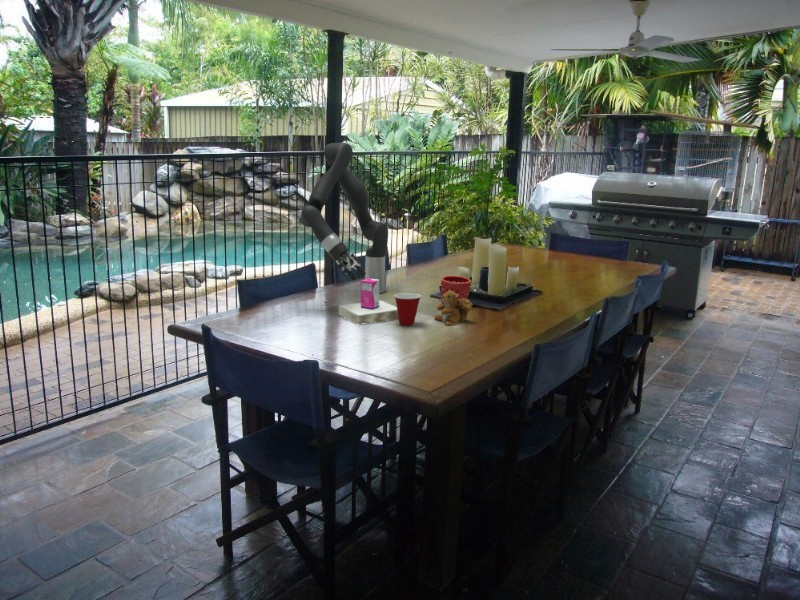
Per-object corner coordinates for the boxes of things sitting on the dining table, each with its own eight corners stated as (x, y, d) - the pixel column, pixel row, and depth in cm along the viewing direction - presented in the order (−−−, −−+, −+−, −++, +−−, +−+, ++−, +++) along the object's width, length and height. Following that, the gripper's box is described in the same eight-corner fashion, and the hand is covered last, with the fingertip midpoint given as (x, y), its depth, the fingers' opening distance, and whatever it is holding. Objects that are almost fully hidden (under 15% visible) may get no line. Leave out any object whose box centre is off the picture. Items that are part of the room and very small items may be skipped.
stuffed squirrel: (432, 319, 268) (433, 288, 265) (463, 317, 274) (464, 286, 270) (442, 326, 260) (444, 294, 256) (474, 323, 265) (476, 292, 261)
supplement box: (367, 304, 272) (367, 277, 269) (379, 306, 269) (380, 279, 266) (359, 307, 267) (360, 280, 264) (372, 309, 264) (373, 282, 261)
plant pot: (436, 306, 288) (438, 280, 285) (443, 299, 300) (445, 274, 297) (465, 310, 285) (467, 283, 282) (471, 303, 297) (473, 277, 294)
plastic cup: (413, 319, 268) (415, 290, 265) (424, 326, 258) (425, 297, 255) (388, 321, 264) (389, 292, 261) (398, 328, 254) (399, 298, 251)
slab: (380, 309, 281) (380, 300, 280) (400, 318, 268) (401, 309, 267) (338, 314, 270) (339, 305, 269) (358, 325, 257) (358, 315, 256)
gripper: (332, 243, 259) (358, 275, 258) (348, 238, 272) (373, 268, 271) (320, 255, 263) (346, 286, 262) (336, 249, 275) (361, 279, 274)
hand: (359, 277), depth 266 cm, fingers open, 8 cm apart
